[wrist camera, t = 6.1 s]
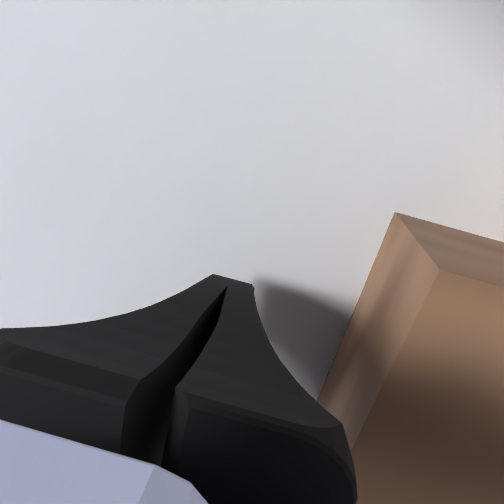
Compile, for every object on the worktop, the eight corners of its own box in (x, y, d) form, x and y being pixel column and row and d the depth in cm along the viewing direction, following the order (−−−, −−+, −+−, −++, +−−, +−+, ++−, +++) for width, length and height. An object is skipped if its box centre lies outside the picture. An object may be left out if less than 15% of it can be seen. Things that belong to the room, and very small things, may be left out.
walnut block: (441, 444, 14) (493, 581, 10) (313, 405, 15) (314, 524, 11) (556, 256, 11) (697, 343, 7) (393, 210, 12) (439, 269, 7)
